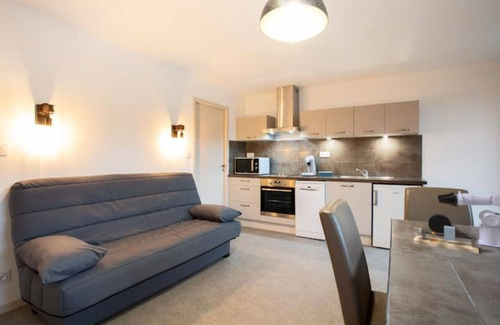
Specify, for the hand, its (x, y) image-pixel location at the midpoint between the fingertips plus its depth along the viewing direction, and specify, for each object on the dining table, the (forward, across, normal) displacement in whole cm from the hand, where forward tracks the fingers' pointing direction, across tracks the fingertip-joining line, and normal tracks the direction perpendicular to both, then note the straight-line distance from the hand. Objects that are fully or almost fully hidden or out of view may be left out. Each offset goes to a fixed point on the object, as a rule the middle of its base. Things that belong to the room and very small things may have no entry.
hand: (438, 198), depth 134 cm
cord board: (0, +14, +20) cm, 24 cm away
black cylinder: (0, -21, +22) cm, 30 cm away
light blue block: (-3, +14, +17) cm, 22 cm away
